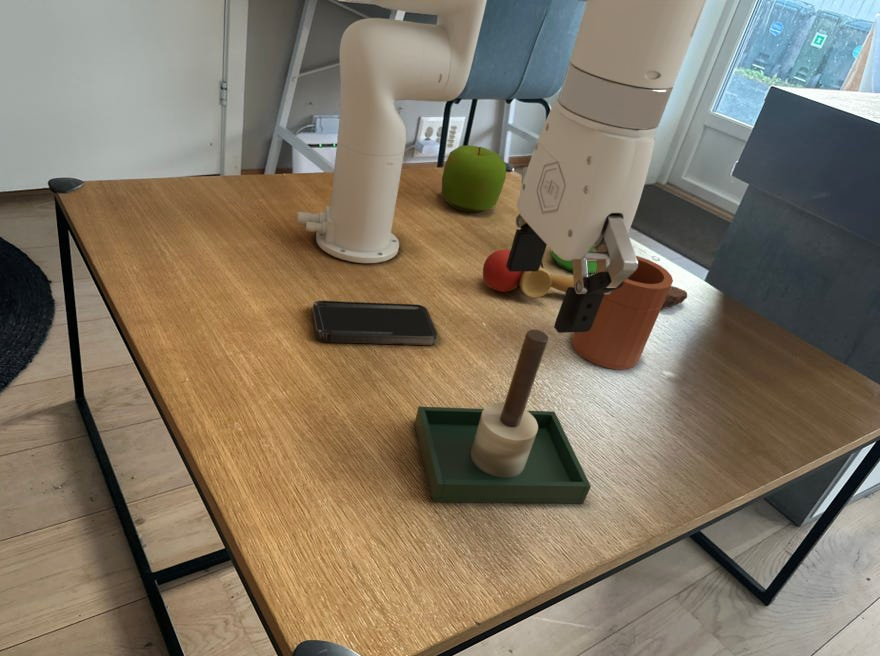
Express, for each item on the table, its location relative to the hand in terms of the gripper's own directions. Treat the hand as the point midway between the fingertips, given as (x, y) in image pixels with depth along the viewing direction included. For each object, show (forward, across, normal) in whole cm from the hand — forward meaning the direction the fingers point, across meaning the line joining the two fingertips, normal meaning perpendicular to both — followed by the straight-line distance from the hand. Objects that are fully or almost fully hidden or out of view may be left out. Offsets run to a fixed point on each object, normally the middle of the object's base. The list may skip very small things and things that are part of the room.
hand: (545, 298), depth 61 cm
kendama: (+20, -32, +22) cm, 44 cm away
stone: (+20, -29, +41) cm, 54 cm away
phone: (+20, -24, -6) cm, 32 cm away
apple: (+21, -63, +22) cm, 70 cm away
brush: (+18, +1, 0) cm, 19 cm away
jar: (+20, -18, +24) cm, 36 cm away
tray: (+19, +1, 0) cm, 19 cm away
